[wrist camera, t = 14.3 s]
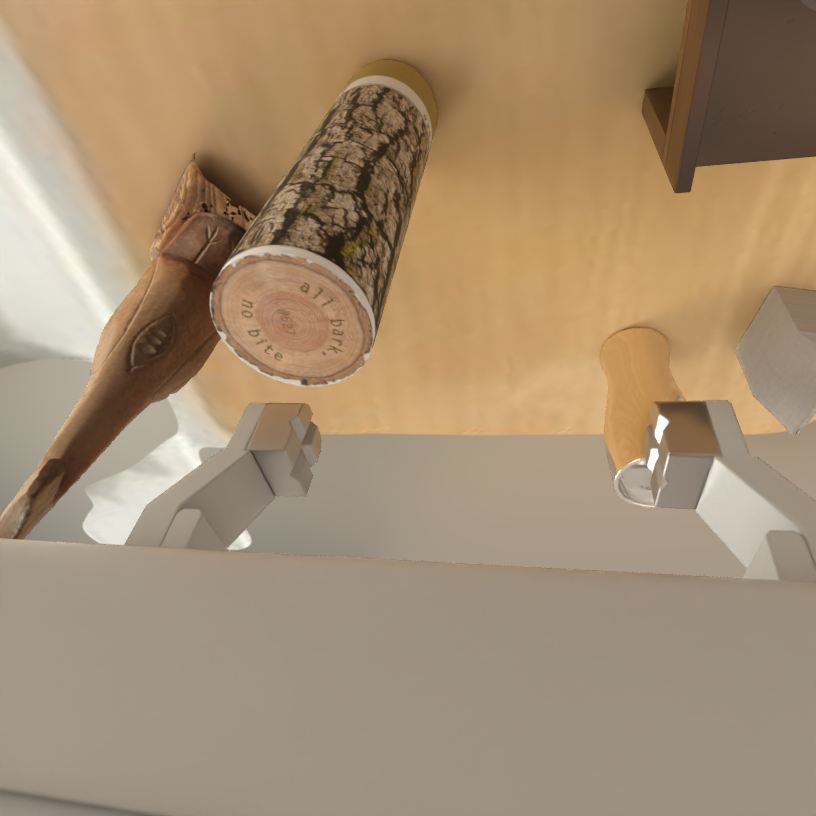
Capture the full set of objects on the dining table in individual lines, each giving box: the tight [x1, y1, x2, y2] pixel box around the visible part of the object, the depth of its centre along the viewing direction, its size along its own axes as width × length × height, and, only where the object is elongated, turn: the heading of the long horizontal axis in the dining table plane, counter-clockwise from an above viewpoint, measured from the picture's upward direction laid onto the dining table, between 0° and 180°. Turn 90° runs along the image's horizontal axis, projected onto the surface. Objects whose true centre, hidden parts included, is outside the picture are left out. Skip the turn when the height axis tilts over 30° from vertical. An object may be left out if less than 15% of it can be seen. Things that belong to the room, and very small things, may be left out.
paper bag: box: [735, 286, 816, 436], centre depth 44 cm, size 4×7×10 cm, turn 177°
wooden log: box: [210, 60, 437, 387], centre depth 32 cm, size 7×7×25 cm
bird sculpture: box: [0, 153, 256, 540], centre depth 39 cm, size 11×12×32 cm
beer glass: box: [599, 327, 686, 508], centre depth 47 cm, size 7×7×15 cm
